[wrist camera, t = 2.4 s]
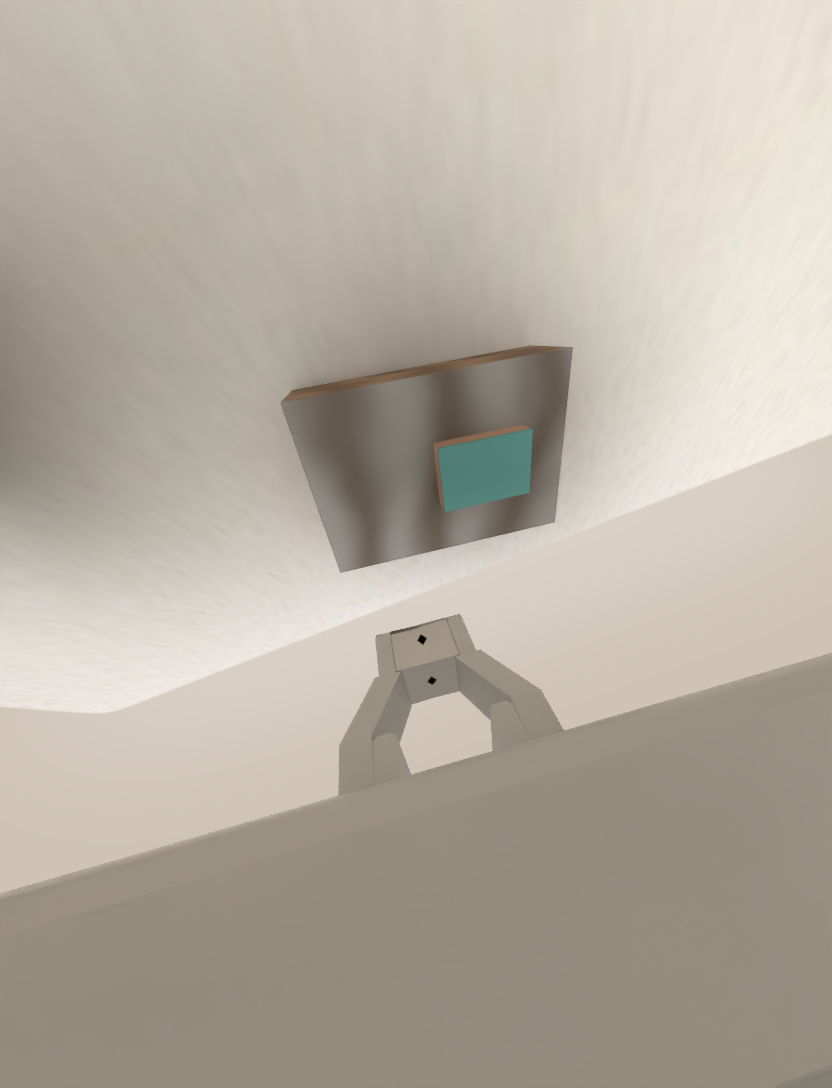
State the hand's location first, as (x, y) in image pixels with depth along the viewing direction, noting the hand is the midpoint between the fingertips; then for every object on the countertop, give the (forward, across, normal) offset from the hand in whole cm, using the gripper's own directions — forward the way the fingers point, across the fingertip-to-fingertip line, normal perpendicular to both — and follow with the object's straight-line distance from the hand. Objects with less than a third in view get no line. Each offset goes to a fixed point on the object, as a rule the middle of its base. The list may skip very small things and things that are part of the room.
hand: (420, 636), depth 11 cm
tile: (+16, -8, +1) cm, 18 cm away
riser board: (+22, -5, +1) cm, 22 cm away
